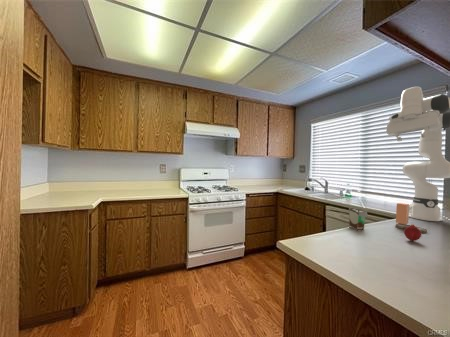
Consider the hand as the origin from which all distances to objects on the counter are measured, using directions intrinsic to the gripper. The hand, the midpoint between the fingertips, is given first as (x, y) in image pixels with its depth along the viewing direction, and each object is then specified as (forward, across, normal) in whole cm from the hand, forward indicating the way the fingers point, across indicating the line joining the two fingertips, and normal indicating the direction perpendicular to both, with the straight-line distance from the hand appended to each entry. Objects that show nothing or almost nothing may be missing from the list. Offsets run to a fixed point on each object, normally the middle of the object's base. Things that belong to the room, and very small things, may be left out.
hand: (410, 139), depth 103 cm
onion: (+50, 0, -4) cm, 50 cm away
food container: (+48, +22, -2) cm, 53 cm away
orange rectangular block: (+40, +11, -25) cm, 49 cm away
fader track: (+42, +7, -26) cm, 50 cm away
